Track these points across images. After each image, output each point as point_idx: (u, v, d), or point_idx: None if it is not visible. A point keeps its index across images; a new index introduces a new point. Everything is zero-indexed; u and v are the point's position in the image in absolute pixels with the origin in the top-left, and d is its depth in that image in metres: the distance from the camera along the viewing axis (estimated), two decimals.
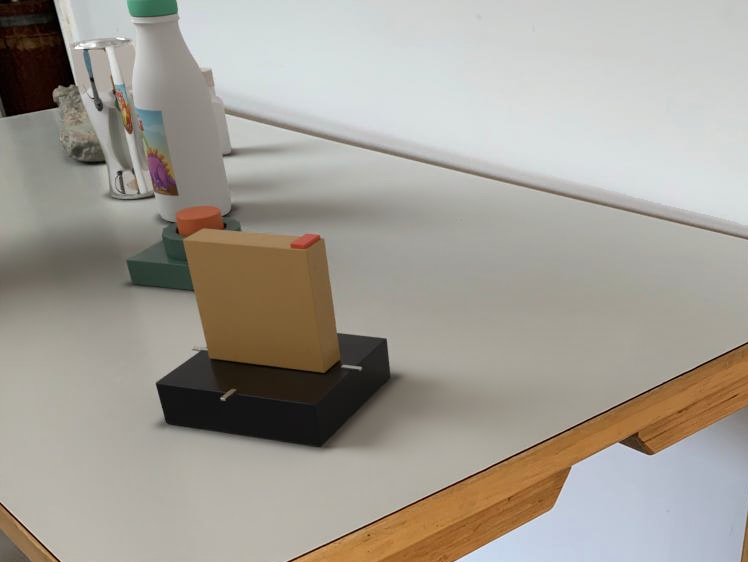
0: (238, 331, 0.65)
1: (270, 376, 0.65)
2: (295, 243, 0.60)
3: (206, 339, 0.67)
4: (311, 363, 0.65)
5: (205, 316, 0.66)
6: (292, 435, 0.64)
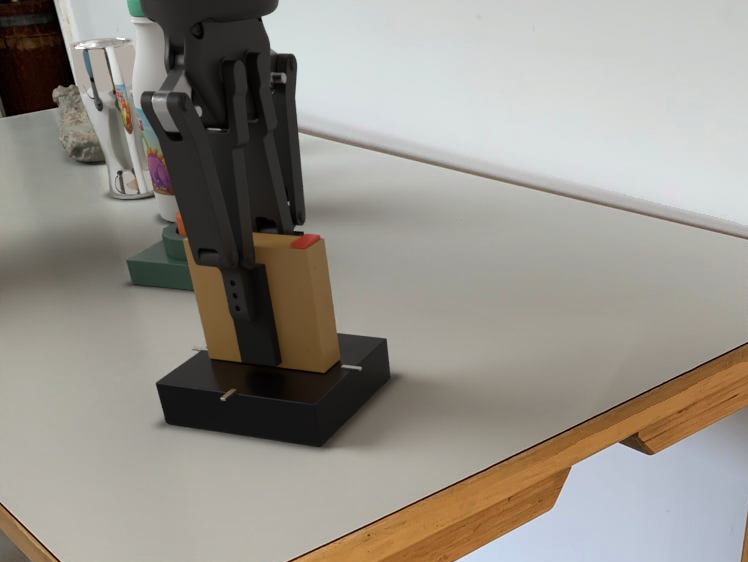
0: None
1: (270, 376, 0.65)
2: (295, 243, 0.60)
3: (206, 339, 0.67)
4: (311, 363, 0.65)
5: (205, 316, 0.66)
6: (292, 435, 0.64)
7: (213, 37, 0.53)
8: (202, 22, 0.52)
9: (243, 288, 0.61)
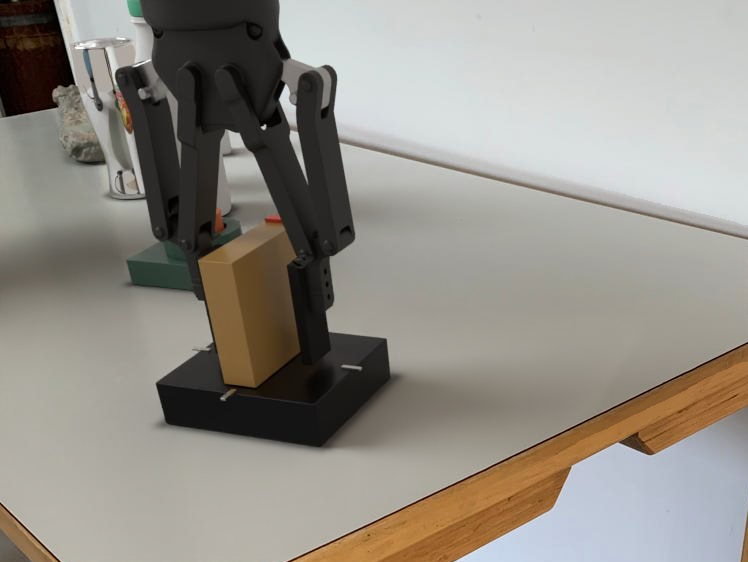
0: (272, 338, 0.64)
1: (270, 376, 0.65)
2: None
3: (253, 367, 0.63)
4: None
5: (251, 340, 0.62)
6: (292, 435, 0.64)
7: None
8: None
9: (330, 272, 0.62)
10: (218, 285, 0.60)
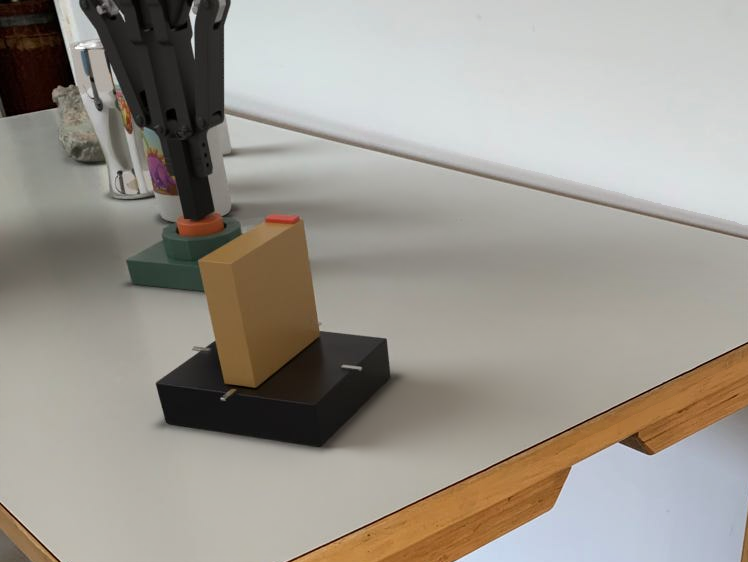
0: (272, 338, 0.64)
1: (270, 376, 0.65)
2: (292, 218, 0.64)
3: (253, 367, 0.63)
4: (313, 331, 0.69)
5: (251, 340, 0.62)
6: (292, 435, 0.64)
7: None
8: None
9: (208, 146, 0.84)
10: (218, 285, 0.60)
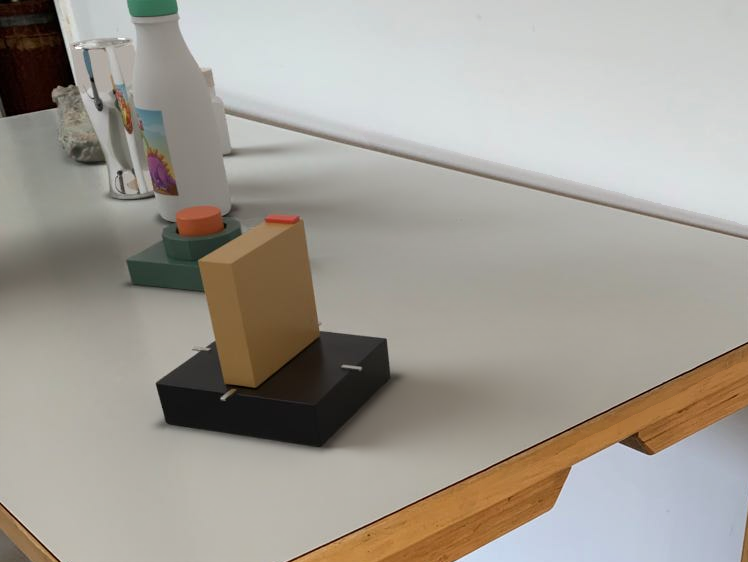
0: (272, 338, 0.64)
1: (270, 376, 0.65)
2: (292, 218, 0.64)
3: (253, 367, 0.63)
4: (313, 331, 0.69)
5: (251, 340, 0.62)
6: (292, 435, 0.64)
7: None
8: None
9: None
10: (218, 285, 0.60)
